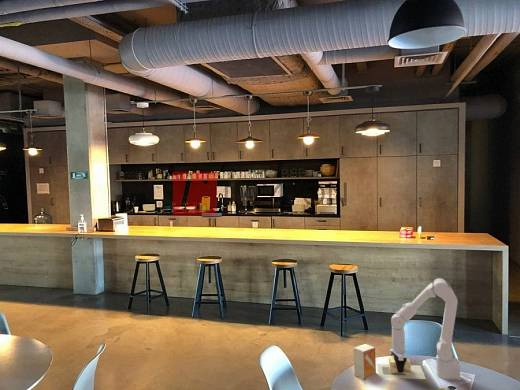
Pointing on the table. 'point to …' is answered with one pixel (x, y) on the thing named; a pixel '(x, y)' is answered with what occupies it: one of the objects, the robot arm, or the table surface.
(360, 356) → the small box
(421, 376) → the board
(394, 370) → the block
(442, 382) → the table surface
